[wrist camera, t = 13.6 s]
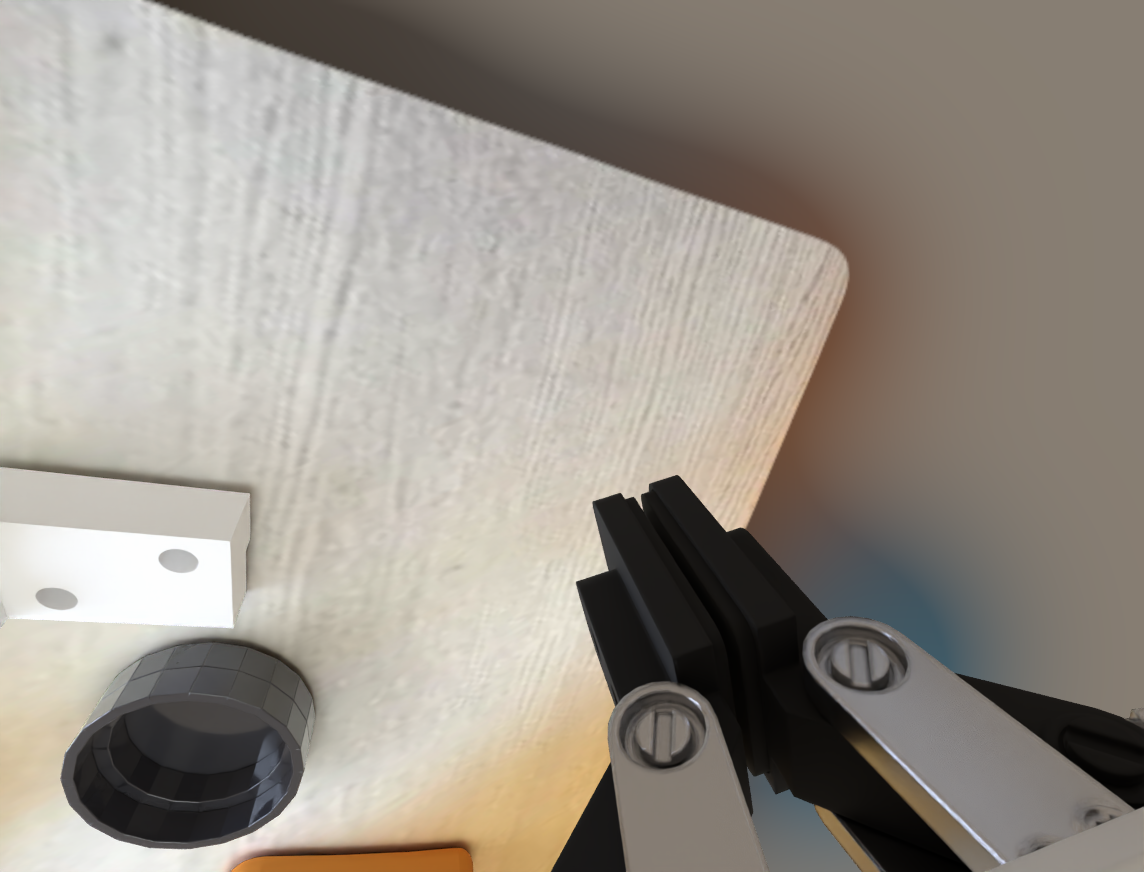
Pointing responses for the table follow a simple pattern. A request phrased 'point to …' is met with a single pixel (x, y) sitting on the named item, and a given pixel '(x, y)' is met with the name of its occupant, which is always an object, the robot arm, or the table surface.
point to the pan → (191, 747)
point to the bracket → (120, 550)
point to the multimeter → (365, 862)
